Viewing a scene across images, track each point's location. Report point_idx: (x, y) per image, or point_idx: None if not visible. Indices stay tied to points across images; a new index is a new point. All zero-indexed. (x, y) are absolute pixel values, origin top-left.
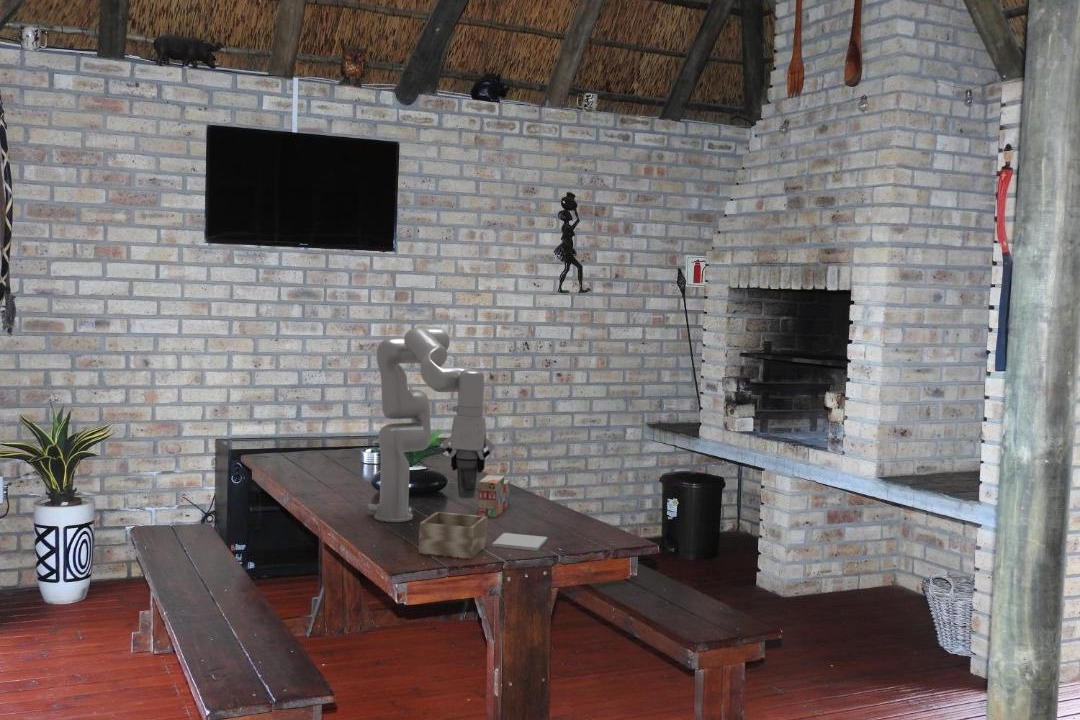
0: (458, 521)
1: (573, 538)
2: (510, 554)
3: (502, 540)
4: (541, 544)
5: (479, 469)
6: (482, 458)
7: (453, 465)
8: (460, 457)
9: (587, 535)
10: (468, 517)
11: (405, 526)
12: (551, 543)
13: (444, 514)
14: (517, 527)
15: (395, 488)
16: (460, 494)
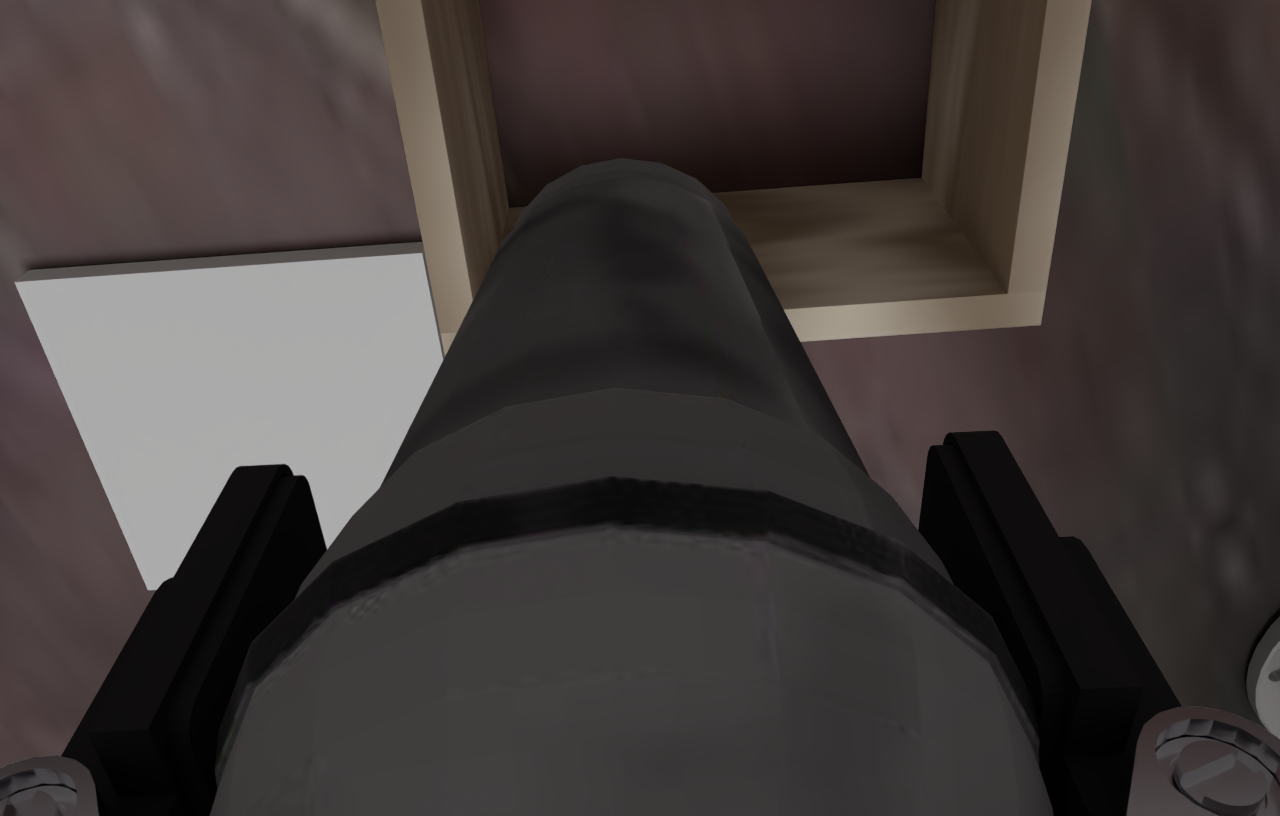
0: None
1: (37, 676)
2: (155, 56)
3: (390, 371)
4: (77, 413)
5: (219, 507)
6: (6, 799)
7: (1008, 503)
8: (798, 589)
9: (10, 763)
10: None
11: (1273, 502)
12: (81, 514)
13: (933, 294)
14: None
15: None
16: (693, 188)
